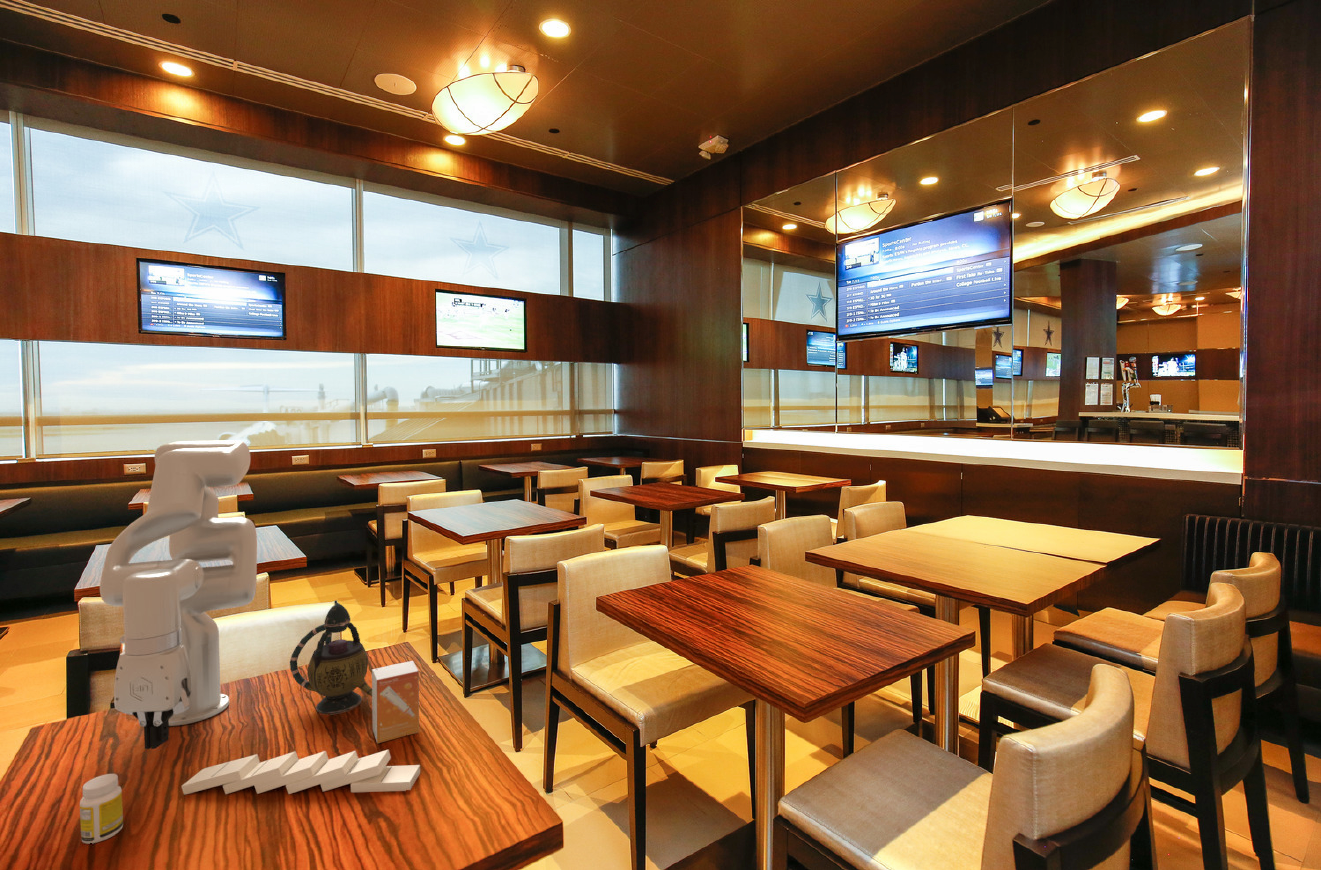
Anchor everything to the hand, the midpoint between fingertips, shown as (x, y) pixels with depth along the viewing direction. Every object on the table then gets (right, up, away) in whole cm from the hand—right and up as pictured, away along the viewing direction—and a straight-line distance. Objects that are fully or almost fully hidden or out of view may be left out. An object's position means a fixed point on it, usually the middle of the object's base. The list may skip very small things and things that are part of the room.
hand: (156, 744), depth 104 cm
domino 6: (+35, -7, +1) cm, 36 cm away
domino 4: (+24, -7, 0) cm, 25 cm away
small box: (+34, -7, +18) cm, 39 cm away
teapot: (+20, -7, +28) cm, 35 cm away
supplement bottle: (+2, -8, -12) cm, 14 cm away
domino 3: (+19, -7, 0) cm, 20 cm away
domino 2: (+13, -7, 0) cm, 15 cm away
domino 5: (+30, -7, +1) cm, 30 cm away
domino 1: (+6, -7, 0) cm, 9 cm away
